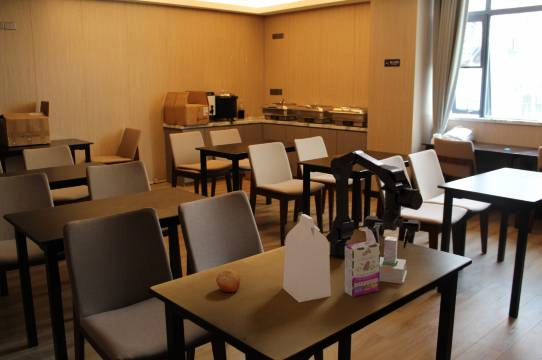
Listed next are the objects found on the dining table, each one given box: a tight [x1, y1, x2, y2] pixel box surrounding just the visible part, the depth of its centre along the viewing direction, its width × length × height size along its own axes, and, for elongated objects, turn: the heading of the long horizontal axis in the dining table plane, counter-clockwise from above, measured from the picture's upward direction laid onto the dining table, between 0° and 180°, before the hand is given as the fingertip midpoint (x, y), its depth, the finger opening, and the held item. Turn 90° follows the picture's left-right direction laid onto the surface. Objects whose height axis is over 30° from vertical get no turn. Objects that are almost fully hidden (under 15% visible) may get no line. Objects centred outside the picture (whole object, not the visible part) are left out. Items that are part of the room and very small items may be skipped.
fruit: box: [215, 268, 241, 293], centre depth 174 cm, size 8×8×8 cm
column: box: [383, 236, 399, 266], centre depth 183 cm, size 4×4×10 cm
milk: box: [282, 213, 332, 303], centre depth 170 cm, size 12×12×26 cm
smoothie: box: [365, 212, 381, 242], centre depth 218 cm, size 6×6×14 cm
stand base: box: [379, 256, 408, 285], centre depth 185 cm, size 11×11×5 cm
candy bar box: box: [344, 240, 381, 298], centre depth 171 cm, size 11×5×16 cm, turn 118°
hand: (390, 246), depth 184 cm, fingers open, 9 cm apart
